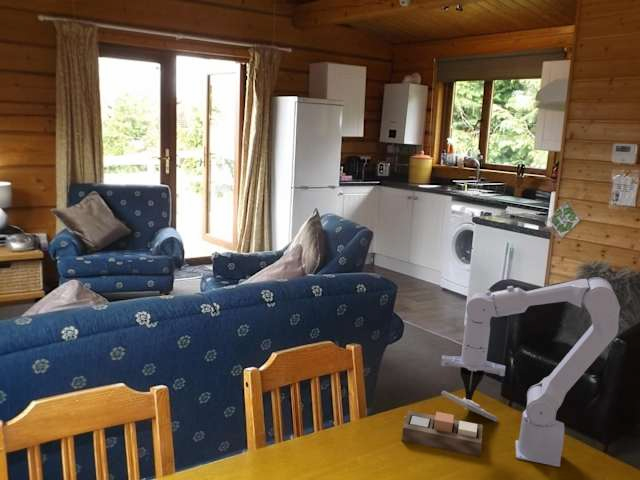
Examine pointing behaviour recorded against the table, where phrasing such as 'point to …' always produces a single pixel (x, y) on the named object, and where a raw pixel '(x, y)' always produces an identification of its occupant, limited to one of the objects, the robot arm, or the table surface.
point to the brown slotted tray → (441, 436)
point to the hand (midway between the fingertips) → (468, 398)
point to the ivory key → (467, 429)
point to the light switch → (469, 405)
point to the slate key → (420, 422)
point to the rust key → (443, 422)
